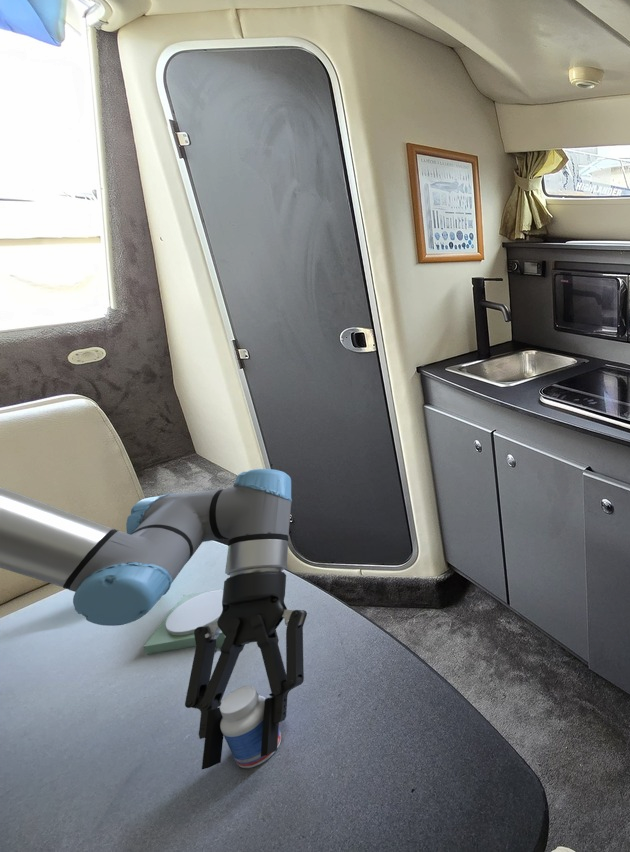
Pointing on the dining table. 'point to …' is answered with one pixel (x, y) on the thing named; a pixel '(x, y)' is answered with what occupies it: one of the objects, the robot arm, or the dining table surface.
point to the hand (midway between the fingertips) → (240, 759)
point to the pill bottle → (244, 726)
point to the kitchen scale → (187, 622)
